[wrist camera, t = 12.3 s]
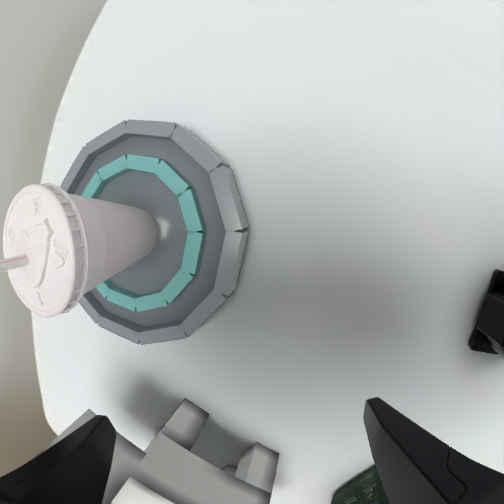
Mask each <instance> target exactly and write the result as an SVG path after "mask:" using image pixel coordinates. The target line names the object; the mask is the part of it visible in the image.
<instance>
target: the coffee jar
mask: <svg viewBox="0 0 504 504" xmlns="http://www.w3.org/2000/svg"><path fill="white" fill-rule="evenodd" d="M331 504H390V502H389V500H388V497H387V494H386V492H385V489H384V486H383V483H382V481H381V478H380V475H379V473H378V470H377V468H376V467H375V468H373V469H371V470H370V471H368V472H367V473H365V474H363V475H362V476H360V477H358V478H357V479H355V480H354V481H353V482H351V483H350V484H348V485H347V486H345V487H344V488H343V489H342V490H340V491H339V492H338V493H337V494H336V495H335V496H334V497H333V498H332V501H331Z"/></svg>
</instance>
